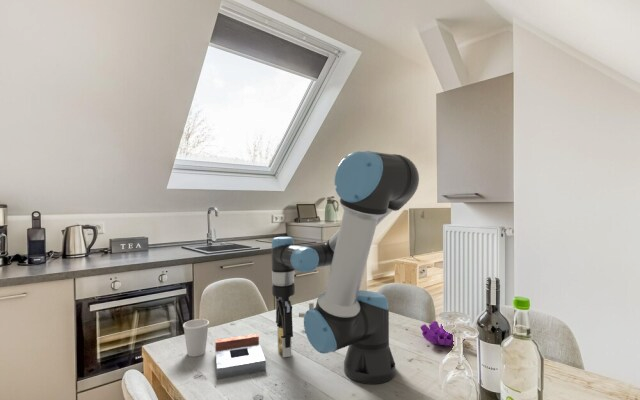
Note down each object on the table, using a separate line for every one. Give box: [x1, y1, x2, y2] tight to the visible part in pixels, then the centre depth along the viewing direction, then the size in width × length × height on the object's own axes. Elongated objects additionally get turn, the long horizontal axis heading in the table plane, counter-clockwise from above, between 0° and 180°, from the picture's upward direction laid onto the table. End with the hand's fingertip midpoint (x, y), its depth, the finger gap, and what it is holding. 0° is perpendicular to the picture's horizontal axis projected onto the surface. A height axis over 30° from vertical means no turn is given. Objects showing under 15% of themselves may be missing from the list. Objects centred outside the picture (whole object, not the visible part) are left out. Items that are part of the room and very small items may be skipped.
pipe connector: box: [298, 301, 315, 318], centre depth 133 cm, size 10×10×10 cm
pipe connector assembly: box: [419, 320, 466, 346], centre depth 117 cm, size 11×15×10 cm
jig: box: [214, 333, 267, 380], centre depth 105 cm, size 16×14×5 cm
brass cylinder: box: [277, 326, 283, 356], centre depth 112 cm, size 4×4×8 cm
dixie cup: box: [182, 318, 210, 357], centre depth 112 cm, size 8×8×10 cm
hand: (284, 351), depth 112 cm, fingers open, 7 cm apart
